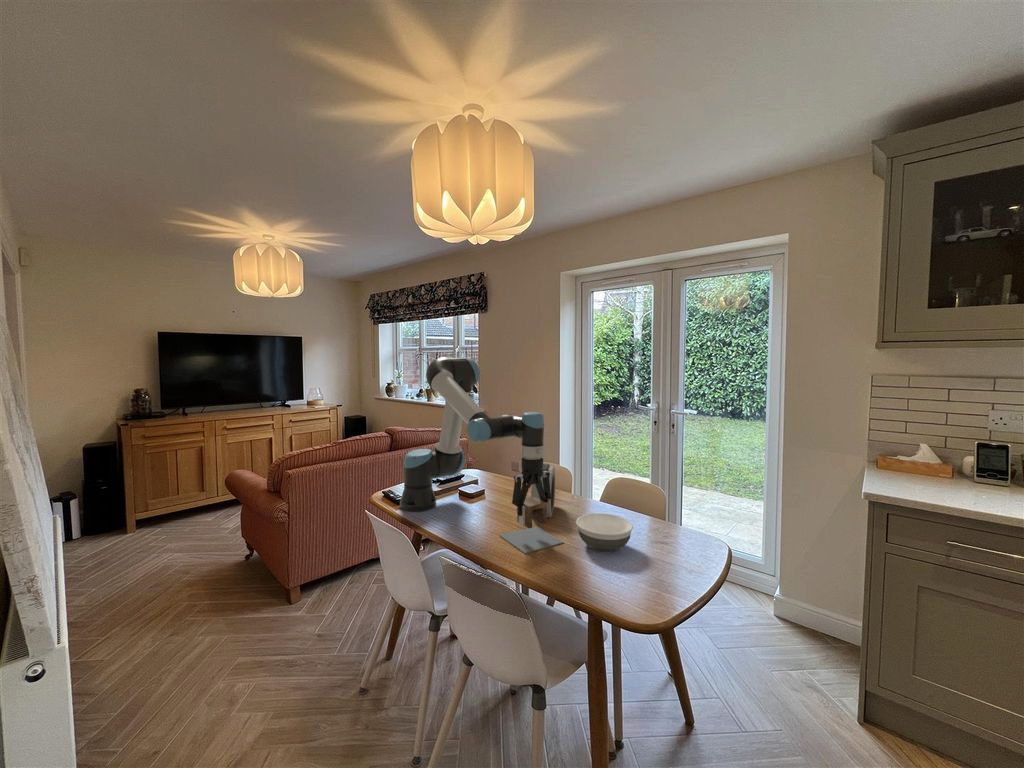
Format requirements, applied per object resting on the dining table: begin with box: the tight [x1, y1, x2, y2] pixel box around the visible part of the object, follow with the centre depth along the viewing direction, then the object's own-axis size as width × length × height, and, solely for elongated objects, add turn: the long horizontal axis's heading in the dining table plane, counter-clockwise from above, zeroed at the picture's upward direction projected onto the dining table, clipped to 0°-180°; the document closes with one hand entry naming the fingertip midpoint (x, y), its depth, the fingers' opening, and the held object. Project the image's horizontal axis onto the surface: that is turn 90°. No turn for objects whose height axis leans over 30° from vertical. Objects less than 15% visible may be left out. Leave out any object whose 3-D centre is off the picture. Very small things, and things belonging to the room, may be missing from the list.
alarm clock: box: [530, 463, 556, 519], centre depth 175 cm, size 21×8×20 cm, turn 168°
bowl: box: [575, 512, 634, 553], centre depth 143 cm, size 19×19×8 cm
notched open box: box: [516, 497, 548, 529], centre depth 148 cm, size 8×7×8 cm
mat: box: [499, 526, 564, 555], centre depth 148 cm, size 16×16×1 cm
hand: (531, 522), depth 148 cm, fingers closed on notched open box, 7 cm apart
